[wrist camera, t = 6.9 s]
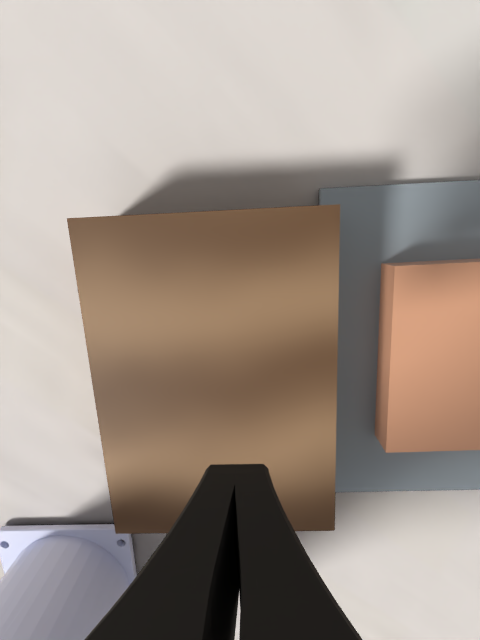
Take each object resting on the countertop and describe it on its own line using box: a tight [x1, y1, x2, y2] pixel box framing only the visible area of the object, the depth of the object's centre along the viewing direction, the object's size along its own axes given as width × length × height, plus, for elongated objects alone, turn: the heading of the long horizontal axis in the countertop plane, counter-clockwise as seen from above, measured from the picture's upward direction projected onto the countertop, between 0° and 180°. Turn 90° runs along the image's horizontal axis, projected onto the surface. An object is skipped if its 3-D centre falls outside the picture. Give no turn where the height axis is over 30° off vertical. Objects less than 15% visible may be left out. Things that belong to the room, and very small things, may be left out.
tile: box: [375, 258, 480, 453], centre depth 17 cm, size 9×6×2 cm, turn 3°
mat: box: [319, 180, 480, 492], centre depth 18 cm, size 16×12×1 cm
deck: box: [67, 204, 340, 534], centre depth 16 cm, size 14×10×4 cm
